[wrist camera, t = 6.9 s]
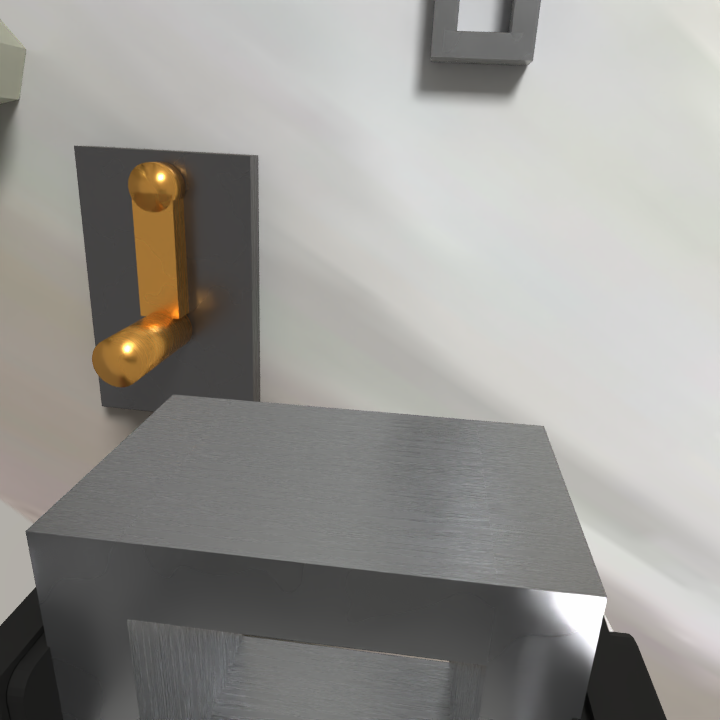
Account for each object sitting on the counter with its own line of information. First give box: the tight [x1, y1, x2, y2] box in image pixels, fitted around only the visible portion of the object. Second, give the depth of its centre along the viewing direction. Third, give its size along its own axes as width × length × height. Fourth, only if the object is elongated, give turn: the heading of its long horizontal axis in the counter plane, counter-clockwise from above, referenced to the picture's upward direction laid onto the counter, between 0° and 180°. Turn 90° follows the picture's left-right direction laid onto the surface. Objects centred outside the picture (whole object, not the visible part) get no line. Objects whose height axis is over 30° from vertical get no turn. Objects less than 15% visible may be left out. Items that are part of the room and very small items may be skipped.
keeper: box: [74, 146, 260, 412], centre depth 23 cm, size 11×7×6 cm, turn 177°
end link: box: [26, 395, 607, 720], centre depth 9 cm, size 6×6×4 cm
